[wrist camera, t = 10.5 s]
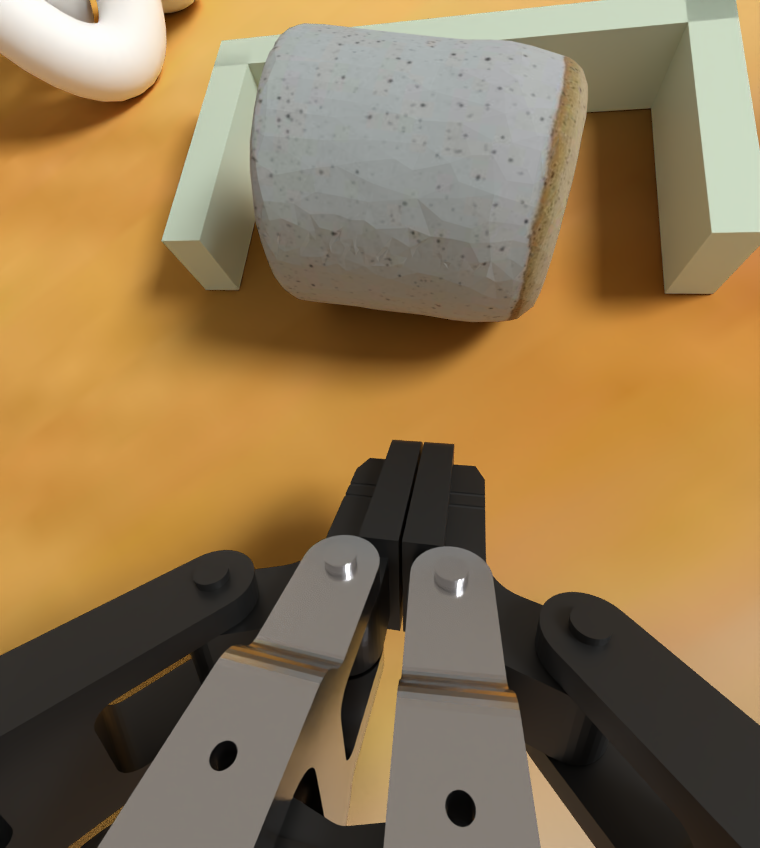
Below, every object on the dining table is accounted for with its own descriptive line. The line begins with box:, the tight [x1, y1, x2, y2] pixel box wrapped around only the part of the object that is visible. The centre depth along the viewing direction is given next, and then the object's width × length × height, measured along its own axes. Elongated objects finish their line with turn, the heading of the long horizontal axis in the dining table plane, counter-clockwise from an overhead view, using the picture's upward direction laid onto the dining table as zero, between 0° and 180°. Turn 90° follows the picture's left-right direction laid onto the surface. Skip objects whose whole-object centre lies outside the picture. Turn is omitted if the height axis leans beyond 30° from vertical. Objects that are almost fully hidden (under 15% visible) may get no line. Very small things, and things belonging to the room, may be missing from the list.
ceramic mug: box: [250, 24, 588, 322], centre depth 14 cm, size 11×8×8 cm
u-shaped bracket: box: [162, 0, 760, 294], centre depth 17 cm, size 10×19×3 cm, turn 83°
